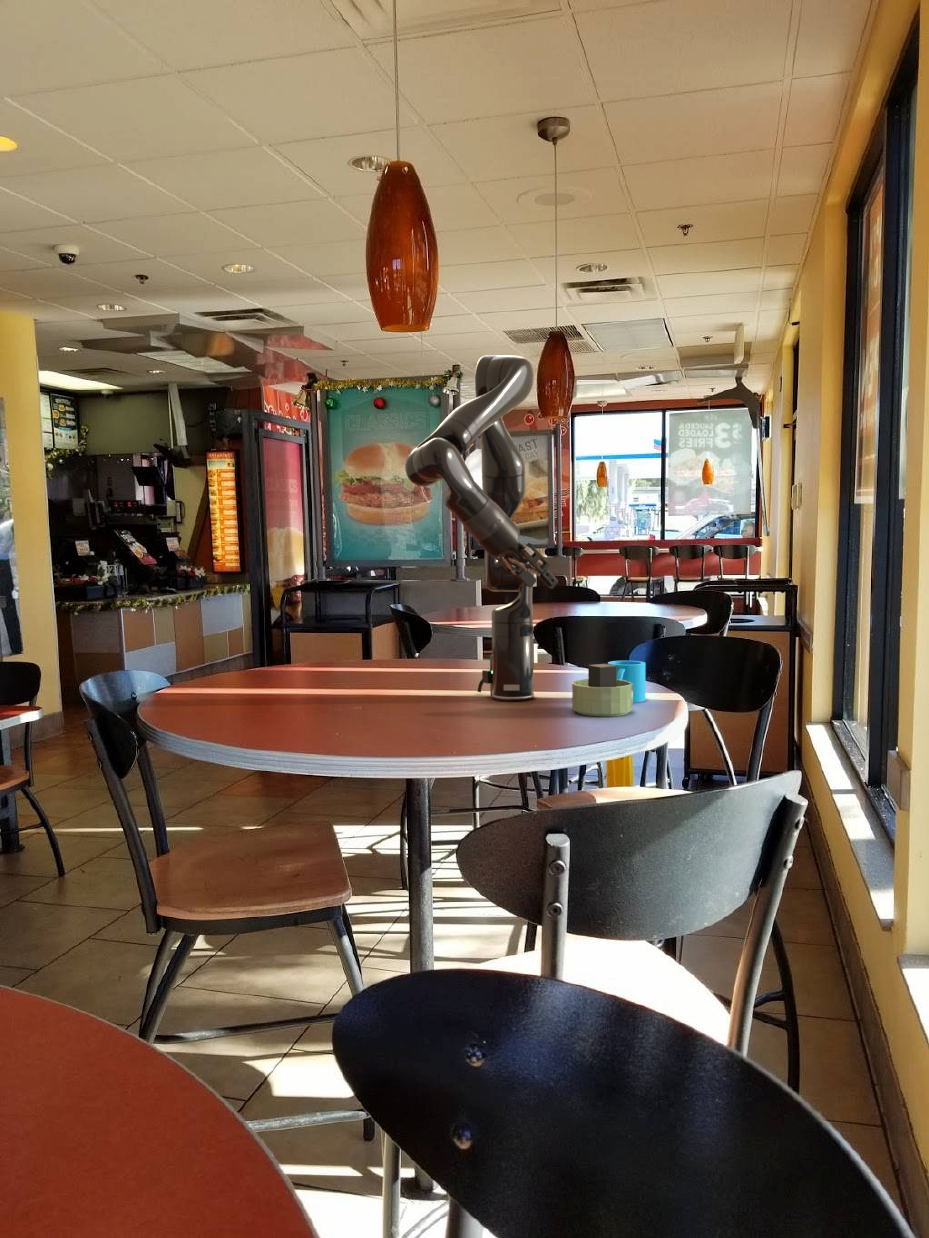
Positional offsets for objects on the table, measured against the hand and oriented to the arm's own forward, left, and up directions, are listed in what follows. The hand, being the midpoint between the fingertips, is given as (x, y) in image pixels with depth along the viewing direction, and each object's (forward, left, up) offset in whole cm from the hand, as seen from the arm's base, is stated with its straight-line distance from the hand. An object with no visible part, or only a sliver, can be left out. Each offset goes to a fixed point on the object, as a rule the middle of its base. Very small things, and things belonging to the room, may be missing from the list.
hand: (543, 584), depth 180 cm
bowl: (+1, +15, -27) cm, 30 cm away
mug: (-6, +27, -27) cm, 39 cm away
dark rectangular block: (+1, +15, -26) cm, 30 cm away
